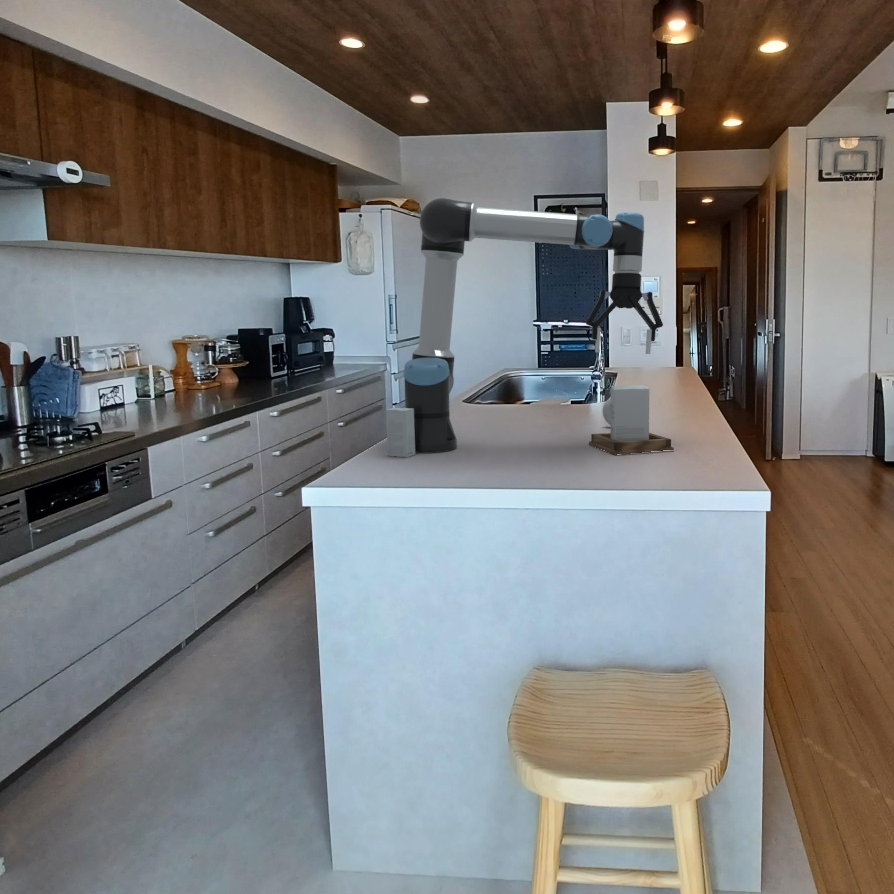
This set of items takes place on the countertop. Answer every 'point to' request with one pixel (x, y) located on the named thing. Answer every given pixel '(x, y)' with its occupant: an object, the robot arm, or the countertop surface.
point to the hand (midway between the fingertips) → (622, 353)
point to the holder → (630, 444)
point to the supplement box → (629, 413)
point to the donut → (607, 411)
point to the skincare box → (400, 432)
